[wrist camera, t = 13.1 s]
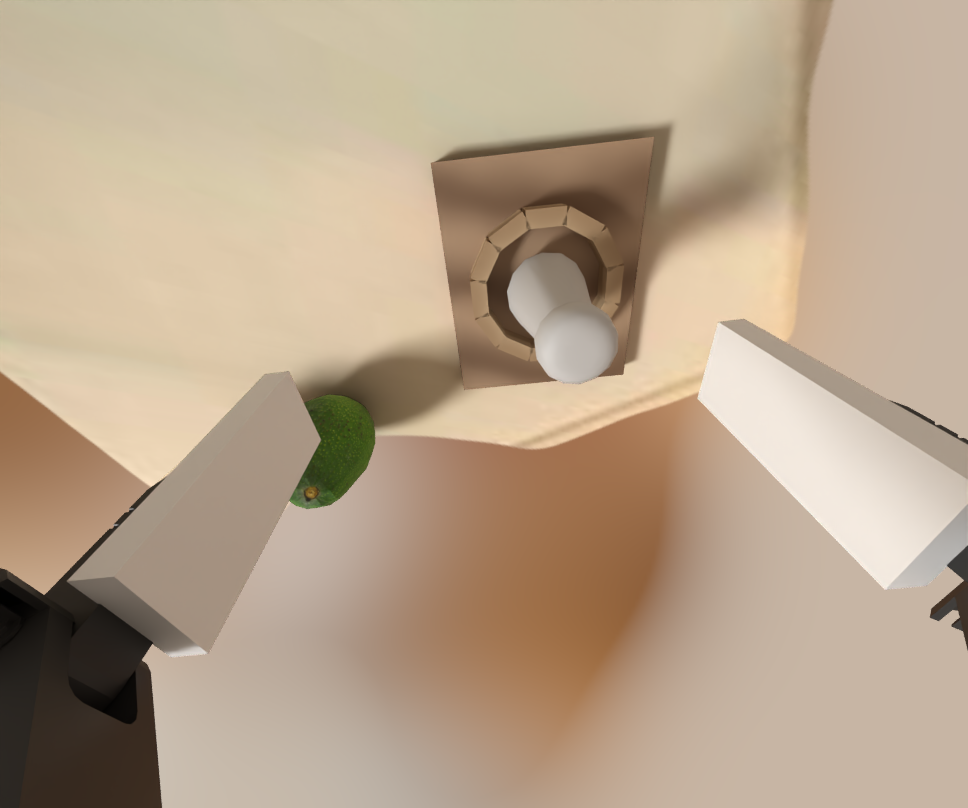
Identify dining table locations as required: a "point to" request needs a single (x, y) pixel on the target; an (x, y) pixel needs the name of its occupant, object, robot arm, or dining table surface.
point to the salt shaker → (562, 318)
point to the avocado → (335, 450)
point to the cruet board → (538, 243)
